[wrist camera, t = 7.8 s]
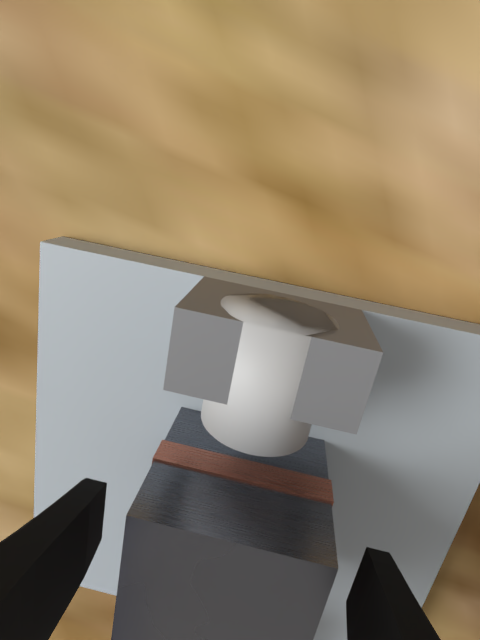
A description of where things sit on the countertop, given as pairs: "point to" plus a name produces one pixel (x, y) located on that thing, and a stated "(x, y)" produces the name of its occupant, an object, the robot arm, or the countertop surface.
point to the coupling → (226, 542)
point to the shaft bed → (138, 413)
